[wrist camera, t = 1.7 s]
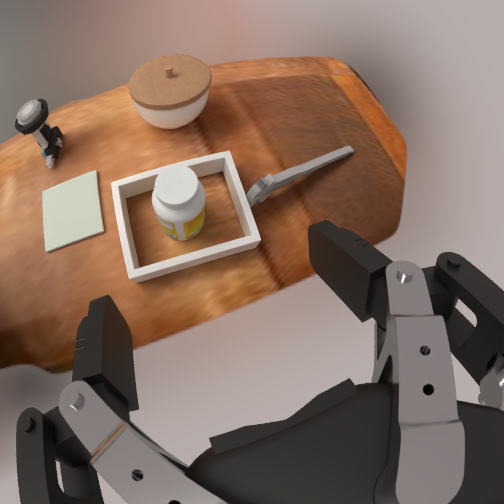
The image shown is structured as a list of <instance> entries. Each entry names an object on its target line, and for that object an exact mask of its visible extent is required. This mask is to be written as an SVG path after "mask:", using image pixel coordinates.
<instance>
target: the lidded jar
mask: <svg viewBox="0 0 504 504" xmlns="http://www.w3.org/2000/svg"><path fill="white" fill-rule="evenodd" d="M210 84H211V70H210V69H209V67H208V66H207V65H206V64H205V63H204V62H203V61H201V60H200V59H198V58H195V57H192V56H188V55H167V56H162V57H158V58H156V59H153V60H151V61H149V62H147V63H145V64H143V65H142V66H141V67H140V68H138V69H137V70H136V71H135V73H134V74H133V75H132V77H131V79H130V81H129V92H130V95H131V97H132V100H133V103H134V106H135V108H136V110H137V112H138V113H139V115H140V116H141V117H142V119H143V120H145V121H146V122H147V123H148V124H150V125H152V126H155V127H158V128H162V129H176V128H180V127H182V126H184V125H186V124H188V123H190V122H191V121H193V120H194V119H195V118H196V117H197V116H198V115H199V114H200V113H201V111H202V110H203V109H204V107H205V104H206V102H207V99H208V95H209V90H210Z"/></svg>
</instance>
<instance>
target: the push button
mask: <svg viewBox="0 0 504 504" xmlns="http://www.w3.org/2000/svg"><path fill="white" fill-rule="evenodd" d="M48 115H49V114H48V107H47V102H46V101H45V100H44V99H38V100H36V99H35V100H31V101H29V102H27V103H26V104H25V105H24V106H23V107H22V108H21V109H20V110H19V113H18V115H17V119H16V122H15V127H16V129H17V130H18V131H19V132H21V133H22V134H24V135H26V134H30V133H31V134H32V135H33V136H34V137H35V139H36V140H37V142H38V144H39V145H40V147H41V146H42V150H41V154H42V155H43V156H44V157H45V159H46V166H47V165H49V167H48V168H49V169H50V168H52V167H53V161H54V160H55V159H57V157H58V150H59V146H60V147H62V141H61V140H60V139H62V137H63V134H62V133H61V131H60V129H59V128H58V126H55V127H53V128H51V126H49V124H48V122H47V121H46V119H47V117H48ZM60 142H61V145H60ZM48 161H49V162H48ZM47 162H48V163H47ZM51 164H52V166H50V165H51Z"/></svg>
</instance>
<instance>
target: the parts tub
mask: <svg viewBox="0 0 504 504" xmlns="http://www.w3.org/2000/svg"><path fill="white" fill-rule="evenodd" d="M173 165H183V166H186V167H189V168H190V169H192V170H193V171H194V172H195V174H196V176H197V178H198V177H202V176H206V175H210V174H214V173H219V172H223V173H224V176H225V179H226V182H227V185H228V188H229V191H230V194H231V197H232V200H233V203H234V206H235V209H236V212H237V215H238V218H239V221H240V224H241V227H242V229H243V232H244V235H245V237H243V238H239V239H236V240H232V241H229V242H225V243H222V244H218V245H215V246H212V247H208V248H205V249H201V250H198V251H194V252H191V253H188V254H184V255H181V256H178V257H174V258H171V259H168V260H164V261H161V262H158V263H154V264H151V265H148V266H144V267H141V268H140V266H139V262H138V258H137V253H136V249H135V245H134V240H133V235H132V231H131V226H130V221H129V215H128V210H127V204H126V198H128V197H131V196H135V195H138V194H141V193H144V192H148V191H151V190H154V188H155V181H156V178H157V176H158V175H159V174H160V172H161V171H163V170H164V169H166V168H167V167H170V166H173ZM111 185H112V193H113V200H114V206H115V213H116V219H117V224H118V230H119V235H120V240H121V245H122V250H123V255H124V259H125V264H126V268H127V272H128V276H129V279H130V280H132V281H134V282H136V283H139V282H142V281H146V280H149V279H152V278H156V277H159V276H162V275H166V274H169V273H172V272H176V271H179V270H182V269H186V268H189V267H192V266H196V265H199V264H202V263H206V262H209V261H212V260H216V259H219V258H223V257H226V256H229V255H233V254H236V253H239V252H243V251H246V250H249V249H253V248H256V246H257V245H258V244H259V242H260V241H261V237H260V235H259V232H258V229H257V226H256V223H255V220H254V218H253V215H252V212H251V209H250V206H249V204H248V201H247V198H246V195H245V192H244V190H243V187H242V184H241V181H240V178H239V176H238V173H237V170H236V167H235V165H234V162H233V159H232V156H231V154H230V151H225V152H221V153H216V154H212V155H207V156H203V157H199V158H194V159H190V160H186V161H182V162H179V163H175V164H171V165H167V166H164V167H160V168H156V169H153V170H150V171H146V172H143V173H139V174H136V175H133V176H130V177H127V178H124V179H120V180H117V181H114V182H111Z"/></svg>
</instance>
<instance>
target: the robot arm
mask: <svg viewBox="0 0 504 504" xmlns="http://www.w3.org/2000/svg"><path fill="white" fill-rule="evenodd" d="M308 240H309V258H310V263H311V265H312V268H313V269H314V271H315V272H316V273H317V274H318V275H319V276H320V277H321V278H322V280H324V282H325V283H326V284H327V285H328V286H329V287H330V288H331V289H332V290H333V291H334V292H335V293H336V295H337V296H338V297H339V298H340V299H341V300H342V301H343V302H344V303H345V304H346V305H347V306H348V307H349V309H350V310H352V312H353V313H354V314H355V315H356V316H357V317H358V318H359V319H360V321H361V322H364V321H367V320H368V319H370V318H372V317H373V318H374V319H375V352H374V371H373V376H372V382H371V383H365V384H359V385H354V383H353V382H352V381H351V380H350V378H349V379H347V380H345V381H343V382H341V383H340V384H338V385H336V386H334V387H332V388H330V389H329V390H327V391H325V392H323V393H321V394H319V395H317V396H316V397H315V398H314V399H312V400H311V401H310V402H309V403H308V404H306V405H305V406H304V407H303V408H301V409H300V410H299V411H297V412H296V413H295V414H294V415H292V416H291V417H289V418H288V419H286V420H282V421H277V422H270V423H264V424H258V425H250V426H244V427H242V428H239V429H236V430H233V431H230V432H227V433H224V434H221V435H217V436H214V437H211V438H209V440H210V442H211V445H212V447H211V448H209V449H207V450H206V451H205V452H203V453H202V454H201V455H200V456H198V457H197V458H196V459H195V460H194V461H193V463H192V464H191V465H190V466H188V465H186V464H185V463H183V462H182V461H180V460H179V459H177V458H176V457H174V456H173V455H171V454H170V453H169V452H167V451H166V450H165V449H163V448H162V447H161V446H160V445H158V444H157V443H156V442H155V441H153V440H152V439H151V438H150V437H148V436H147V435H146V434H145V433H144V432H143V431H142V430H140V429H139V428H138V427H137V426H136V425H135V424H134V423H133V422H131V421H130V416H129V412H130V411H134V410H138V409H139V405H138V398H137V390H136V382H135V372H134V361H133V347H132V335H131V332H130V329H129V326H128V324H127V322H126V321H125V319H124V318H123V316H122V315H121V313H120V311H119V310H118V308H117V306H116V305H115V303H114V301H113V300H112V298H111V297H110V296H109V295H106V296H103V297H100V298H97V299H94V300H92V301H90V304H89V311H88V316H86V317H84V318H83V320H82V321H81V323H80V325H79V327H78V331H77V338H76V340H77V341H76V346H75V349H76V350H75V354H74V364H73V375H72V383H70V384H69V385H67V386H66V387H65V388H64V390H63V391H62V393H61V395H60V397H59V403H58V404H59V406H57V407H55V408H54V409H52V410H50V411H48V412H47V413H45V414H42V413H41V412H40V411H39V410H37V409H36V408H28V409H26V410H24V411H23V412H22V414H21V415H20V417H19V419H18V422H17V432H16V453H17V454H16V456H17V474H18V486H19V494H20V501H21V504H104V501H103V497H102V493H101V489H100V485H99V480H98V475H97V472H98V473H99V474H100V475H101V476H102V477H103V478H104V479H105V481H106V482H107V483H108V484H109V485H110V486H111V487H112V488H113V489H114V490H115V491H116V492H117V493H118V494H119V495H120V496H121V497H122V498H123V499H124V500H125V501H126V502H127V503H128V504H504V291H503V290H502V289H501V288H500V287H499V286H498V285H496V284H495V283H494V282H493V281H492V280H490V279H489V278H488V277H487V276H486V275H485V274H483V273H482V272H481V271H480V270H479V269H477V268H476V267H475V266H474V265H472V264H471V263H470V262H469V261H467V260H466V259H465V258H464V257H462V256H461V255H459V254H456V253H452V252H444V253H441V254H440V255H439V256H438V258H437V262H436V266H432V267H428V268H422V269H421V268H420V267H418V266H417V265H415V264H414V263H411V262H408V261H396V262H393V261H392V260H390V259H389V258H388V257H386V256H385V255H384V254H383V253H381V252H380V251H378V250H377V249H376V248H375V247H373V246H372V245H371V244H370V245H369V243H368V242H367V241H365V240H364V239H362V238H361V237H360V236H358V235H357V234H356V233H354V232H353V231H350V230H347V229H344V228H338V227H337V226H335V225H334V224H333V223H331V222H330V221H328V220H324V221H321V222H318V223H315V224H312V225H310V226H309V227H308ZM458 299H460V300H461V301H462V302H463V303H464V304H465V305H466V306H467V307H468V308H469V309H470V310H471V311H472V312H473V313H474V314H475V315H476V318H477V325H476V327H474V326H473V325H472V324H471V323H470V322H469V321H468V320H467V319H466V318H465V317H464V316H463V315H462V314H461V313H460V312H459V311H458V310H457V309H456V308H455V306H456V303H457V301H458ZM451 353H452V354H453V355H454V356H455V357H456V358H457V360H458V361H459V362H460V363H461V364H462V365H463V367H464V368H465V369H466V370H467V372H468V373H469V374H470V375H471V376H472V378H473V379H474V380H475V381H476V382H477V384H478V385H479V386H480V394H479V396H478V401H479V403H480V404H481V405H479V404H473V403H468V402H463V401H458V400H456V389H455V380H454V373H453V365H452V359H451ZM485 405H486V406H485ZM55 460H56V461H58V462H60V468H61V475H62V482H63V488H64V492H63V491H62V490H61V488H60V486H59V484H58V478H57V470H56V461H55Z"/></svg>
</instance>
